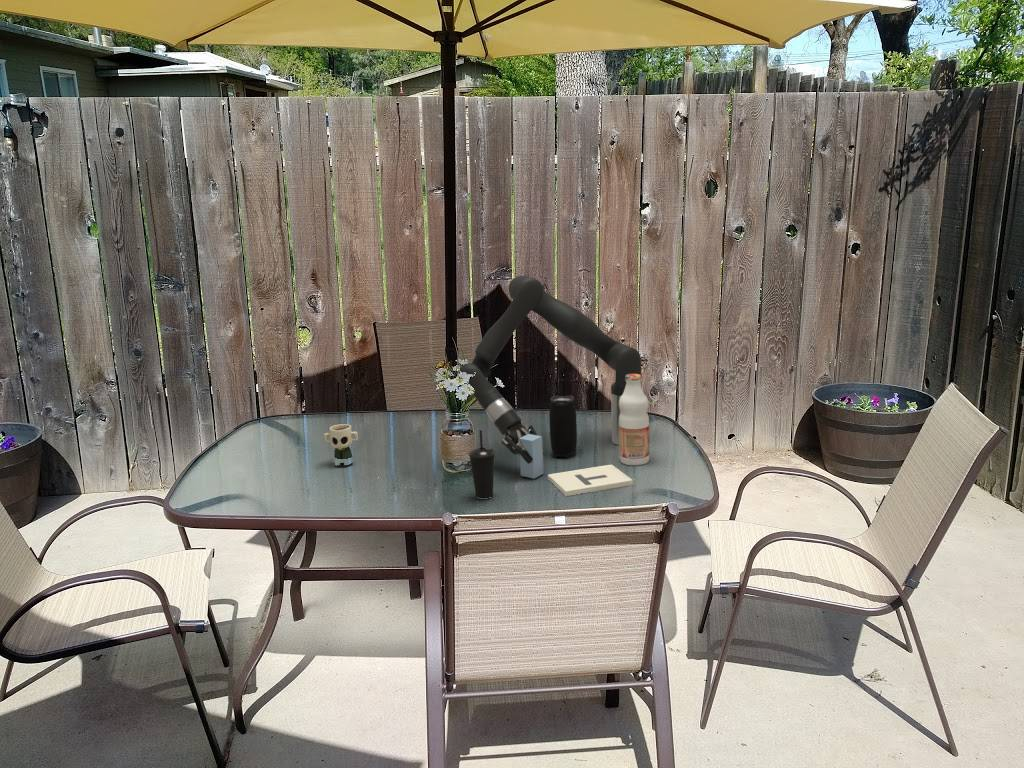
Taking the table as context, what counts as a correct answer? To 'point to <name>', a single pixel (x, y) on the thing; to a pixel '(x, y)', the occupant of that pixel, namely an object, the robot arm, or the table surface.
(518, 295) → the robot arm
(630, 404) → the fruit juice
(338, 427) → the character mug
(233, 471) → the table surface
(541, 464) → the slate pillar
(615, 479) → the letter board
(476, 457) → the drinking cup
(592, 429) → the table surface
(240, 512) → the table surface
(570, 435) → the portable speaker
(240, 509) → the table surface
